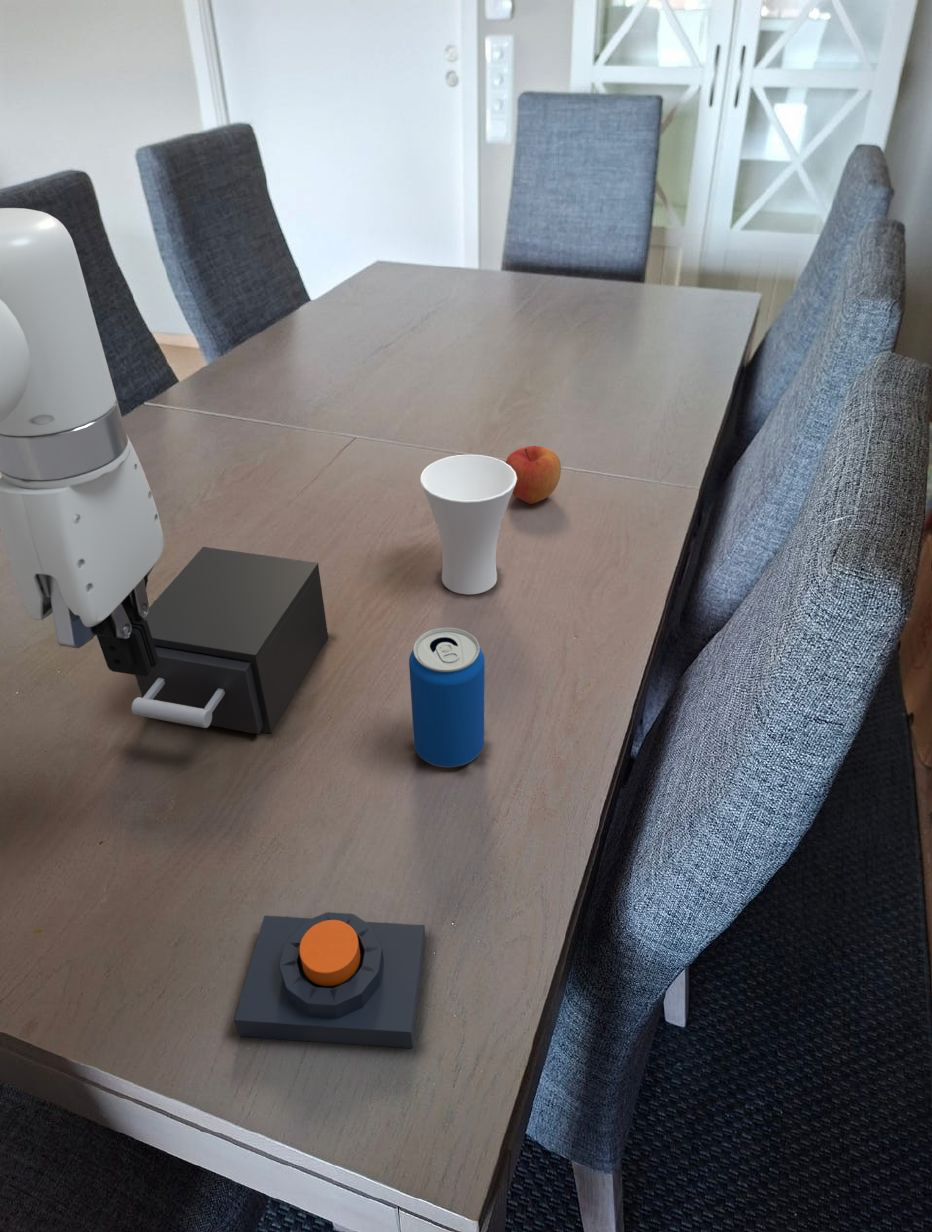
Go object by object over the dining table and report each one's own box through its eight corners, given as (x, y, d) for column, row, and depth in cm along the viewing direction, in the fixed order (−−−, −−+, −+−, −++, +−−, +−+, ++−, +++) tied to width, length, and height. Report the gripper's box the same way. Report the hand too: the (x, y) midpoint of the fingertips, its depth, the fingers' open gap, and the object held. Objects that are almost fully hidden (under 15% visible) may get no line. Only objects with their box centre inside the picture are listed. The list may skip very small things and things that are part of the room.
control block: (239, 1036, 60) (229, 1006, 57) (268, 932, 66) (260, 900, 64) (412, 1048, 59) (410, 1018, 57) (425, 941, 66) (423, 910, 63)
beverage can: (468, 715, 85) (468, 617, 77) (494, 761, 80) (496, 662, 72) (405, 732, 83) (398, 634, 75) (427, 781, 78) (422, 681, 71)
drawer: (237, 769, 78) (221, 704, 73) (122, 746, 80) (99, 682, 75) (313, 644, 92) (304, 582, 87) (213, 627, 94) (198, 567, 89)
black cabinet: (271, 733, 83) (255, 655, 77) (150, 711, 85) (125, 633, 79) (328, 637, 94) (318, 562, 88) (220, 620, 97) (202, 546, 91)
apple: (569, 496, 117) (573, 442, 112) (537, 518, 113) (540, 463, 108) (525, 479, 121) (527, 426, 116) (493, 500, 117) (493, 446, 112)
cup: (530, 571, 104) (534, 469, 95) (483, 616, 97) (483, 511, 88) (457, 545, 108) (455, 445, 100) (407, 586, 101) (400, 484, 93)
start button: (296, 984, 59) (293, 971, 58) (309, 931, 62) (306, 917, 61) (355, 988, 59) (352, 974, 58) (364, 935, 62) (362, 921, 61)
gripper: (74, 382, 59) (140, 600, 70) (-83, 492, 47) (26, 731, 59) (176, 391, 57) (226, 612, 69) (40, 507, 46) (127, 748, 57)
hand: (134, 666), depth 64 cm, fingers closed
